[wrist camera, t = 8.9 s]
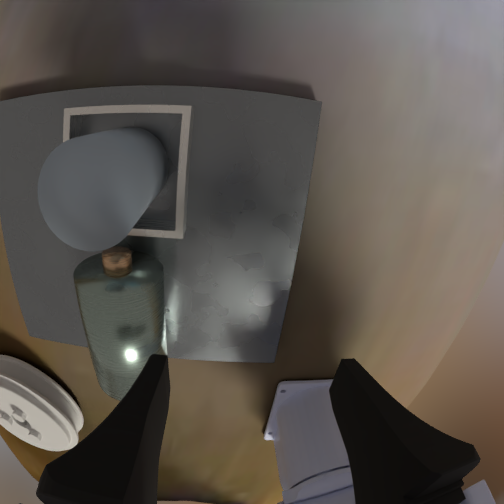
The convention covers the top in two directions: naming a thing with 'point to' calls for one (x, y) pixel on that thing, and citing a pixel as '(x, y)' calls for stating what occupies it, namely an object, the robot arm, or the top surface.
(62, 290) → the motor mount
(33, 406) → the lid
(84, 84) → the top surface
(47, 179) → the grey rounded capsule
